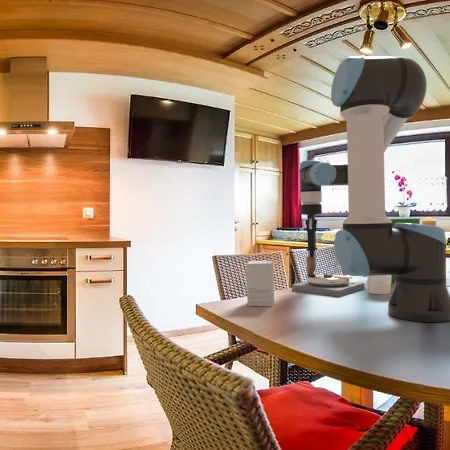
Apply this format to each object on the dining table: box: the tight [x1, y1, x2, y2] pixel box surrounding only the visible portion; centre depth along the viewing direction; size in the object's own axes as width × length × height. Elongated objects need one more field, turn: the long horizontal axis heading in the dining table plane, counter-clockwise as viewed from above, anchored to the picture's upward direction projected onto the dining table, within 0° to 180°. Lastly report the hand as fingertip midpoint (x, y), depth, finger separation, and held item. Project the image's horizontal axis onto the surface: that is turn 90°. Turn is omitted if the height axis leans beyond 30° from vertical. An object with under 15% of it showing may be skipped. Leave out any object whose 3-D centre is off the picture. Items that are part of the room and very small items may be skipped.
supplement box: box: [245, 260, 275, 307], centre depth 116 cm, size 7×7×13 cm
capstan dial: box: [306, 256, 353, 286], centre depth 136 cm, size 16×14×9 cm
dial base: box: [291, 280, 366, 298], centre depth 136 cm, size 18×18×2 cm
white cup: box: [366, 275, 392, 295], centre depth 129 cm, size 8×8×10 cm
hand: (312, 267), depth 143 cm, fingers closed
